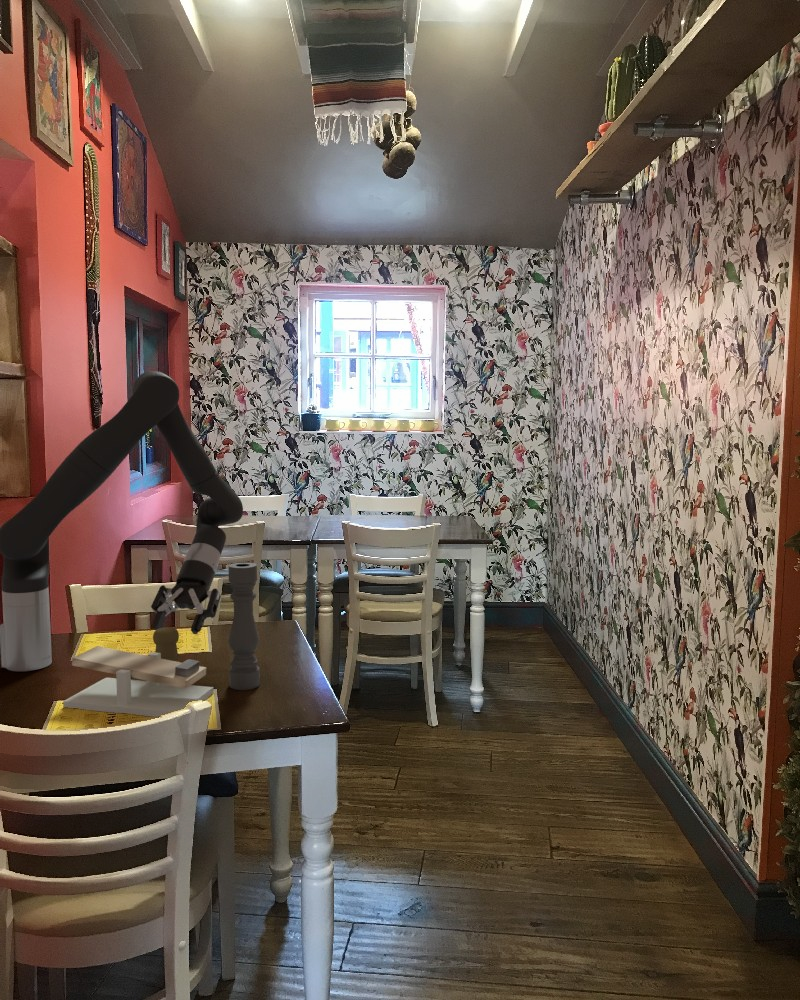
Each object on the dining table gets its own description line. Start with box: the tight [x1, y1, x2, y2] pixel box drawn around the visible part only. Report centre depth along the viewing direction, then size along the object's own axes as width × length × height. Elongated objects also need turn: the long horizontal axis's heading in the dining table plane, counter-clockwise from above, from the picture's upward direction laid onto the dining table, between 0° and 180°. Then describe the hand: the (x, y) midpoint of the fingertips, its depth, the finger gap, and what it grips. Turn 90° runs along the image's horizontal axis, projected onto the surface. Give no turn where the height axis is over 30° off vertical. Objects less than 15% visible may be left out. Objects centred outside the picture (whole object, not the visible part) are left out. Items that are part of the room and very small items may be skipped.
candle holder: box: [228, 562, 261, 691], centre depth 162 cm, size 6×6×25 cm
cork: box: [152, 626, 180, 662], centre depth 166 cm, size 6×6×11 cm
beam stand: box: [62, 651, 214, 718], centre depth 154 cm, size 24×14×8 cm, turn 77°
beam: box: [71, 645, 207, 688], centre depth 154 cm, size 24×8×4 cm, turn 77°
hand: (175, 631), depth 169 cm, fingers open, 8 cm apart
